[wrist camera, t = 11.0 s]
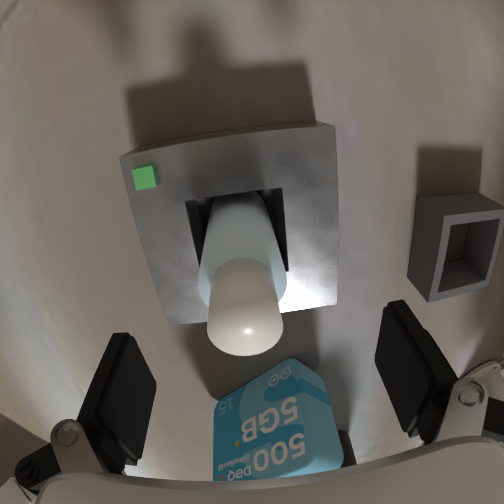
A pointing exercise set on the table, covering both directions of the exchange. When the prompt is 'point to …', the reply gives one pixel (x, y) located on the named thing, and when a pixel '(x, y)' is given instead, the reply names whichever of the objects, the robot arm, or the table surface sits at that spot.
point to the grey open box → (436, 240)
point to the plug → (242, 276)
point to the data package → (276, 427)
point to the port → (229, 182)
